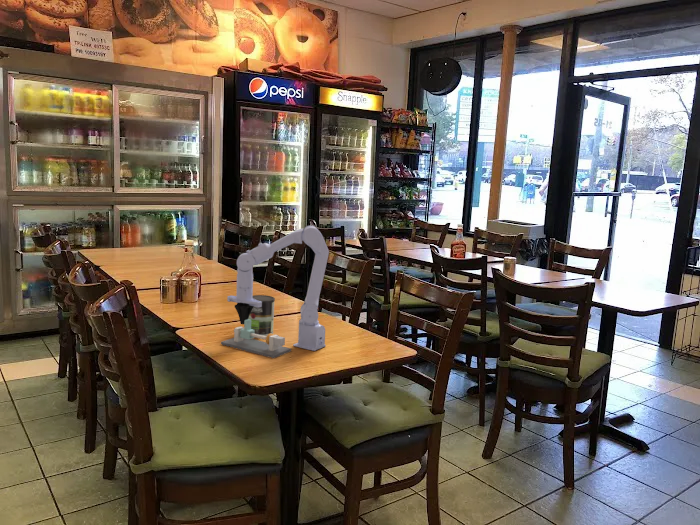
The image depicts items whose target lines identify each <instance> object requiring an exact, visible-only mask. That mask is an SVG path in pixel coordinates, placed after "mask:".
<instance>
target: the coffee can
mask: <svg viewBox="0 0 700 525" xmlns="http://www.w3.org/2000/svg"><path fill="white" fill-rule="evenodd" d="M253 299H255V300H258V301H261V302H262V307H259V308H257V307H255V306H254V307H253V309H252V311H251V313H250V315H249V318H248V319H251V329H253V330H255V334H258V335H262V336H267V335H268V334H269V333H271V334H274V321H275V320H274V318H275V300H276V298H275V297H274V296H271V295H266V294H265V295H263V294H255V295H254V294H253Z"/></svg>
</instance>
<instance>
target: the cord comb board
mask: <svg viewBox="0 0 700 525" xmlns="http://www.w3.org/2000/svg"><path fill="white" fill-rule="evenodd" d="M241 329H244V326H241V325H240V326H237V327H234V329H233V333H234V334H233V335H234V336H233V337H232V338H230V339H225V340H222V341H220V345H221V344H222V346H225V345H226V347H229V346H230V348H232V347H233V348H232V349H236V348H237V349H236V350H240V349H241V351H244V350H245V351H244V352H248V353H252V354H255V355H260V356H263V357H266V358H270V357H271V359H276V358H278V357H280V355H281V356H282V355H286V354H288V353H290V352H292V348H290V347H286V346H285V343H286V337H285V336H284V337H283V336H279V335H278V334H274V333H273V334H271V333H269V334H268V335H267V336H262V335H258V334H254V333H250V336H252V337H254V338H252V339H249V340H248V339H244V338H240V333H241ZM255 338H257V339H255ZM258 339H261V340H258ZM262 340H265V341H262Z"/></svg>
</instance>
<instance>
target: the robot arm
mask: <svg viewBox="0 0 700 525" xmlns="http://www.w3.org/2000/svg"><path fill="white" fill-rule="evenodd" d="M303 242H304V244H305V245H307V246H308V247H309V248H310V249H311V250H312V251H313V252H314V258H313V259H314V260H313V264H312V268H311V273H310V277H309V282H308V287H307V292H306V296H305V299H304V302H303V303H302V305H301V306H300V319H299V321H298V337H297V342H296V343H293V345H292V346H293V347H297V348H301V349H303V350H304V349H305V350H309V351H313V352H315V351H317V350H319V349H322V348H324V347H326V346H327V345H326V328H325V326H324V325H322V324H320V323H319V322H320V321H319V320H318V319H319V312H318V310H319V309H318V308H319V303H320V302H319V301H320V294H321V291H322V286H323V281H324V278H325V277H324V276H325V272H326V268H327V263H328V260H329V255H330V250H329V248H328V246H327V243H326V241H325V238H324V236H323V234H322V233H321V231H320V230H319V229H318V227H316V226H314V225H306V226H305V227H304V228H303V227H302V228H299V229H296V230H294V231H292V232H290V233H288V234H287V235H285V236H283V237H281V238H279V239H277V240H275V241H274V242H271V243H267V242H264V243H262V242H259V243H258V245H257V246H255V247H254V248H252V249H248V250H246V251H245V252H243V253H241V254H240V255H239V256H238V257H237V259H236V266H237V270H236V272H237V273H236V294H235V295H227V302H230V303H231V302H232V303H236V304H234V308H235V310H236V312H237V315H238V318H239V323H240V325H244V320H247V319H248V318H249V315H250V313H251V311H252V309H253V307H254V306H255V307H257V308H259V307H262V302H261V301H258V300H255V299H253V296H254V294H253V293H254V272H253V267H254V266H258V265H260V264H262V263H263V262H266V261H268V260H270V259H272V258H273V256H274V254H275V252H277V251H280V250H282V249H284V248H286V247H288V246H291V245H293V244H299V245H302V244H303Z"/></svg>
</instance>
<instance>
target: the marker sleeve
mask: <svg viewBox="0 0 700 525" xmlns="http://www.w3.org/2000/svg"><path fill="white" fill-rule="evenodd" d="M243 327H244V329H241V333H240V338H244V339H248V340H249V339H255V337H252V336H250V333H254V334H255V330H253V329H251V319H247V320H244V324H243Z"/></svg>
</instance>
